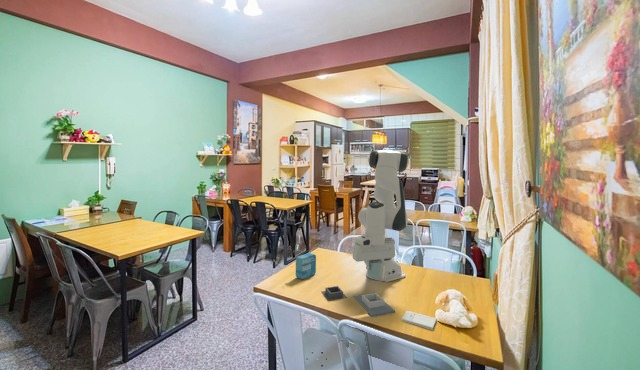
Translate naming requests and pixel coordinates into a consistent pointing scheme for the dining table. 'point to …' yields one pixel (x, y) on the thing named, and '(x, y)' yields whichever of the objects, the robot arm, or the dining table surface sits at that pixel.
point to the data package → (305, 265)
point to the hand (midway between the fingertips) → (373, 268)
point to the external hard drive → (419, 320)
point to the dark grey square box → (333, 293)
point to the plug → (374, 269)
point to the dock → (374, 304)
